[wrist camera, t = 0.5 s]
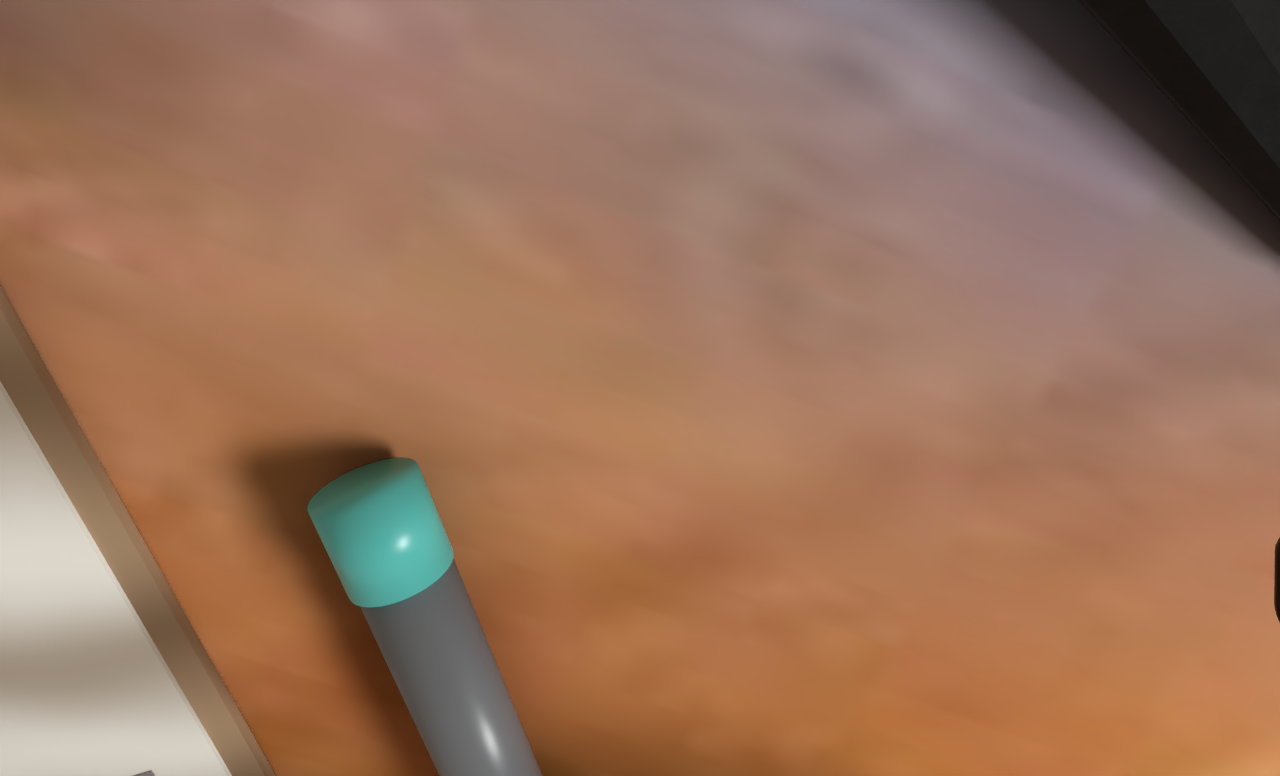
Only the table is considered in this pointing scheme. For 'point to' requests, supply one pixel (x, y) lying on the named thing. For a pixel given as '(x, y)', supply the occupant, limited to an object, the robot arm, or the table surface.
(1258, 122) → the microphone
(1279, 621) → the robot arm
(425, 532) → the marker
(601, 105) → the table surface
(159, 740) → the clipboard
